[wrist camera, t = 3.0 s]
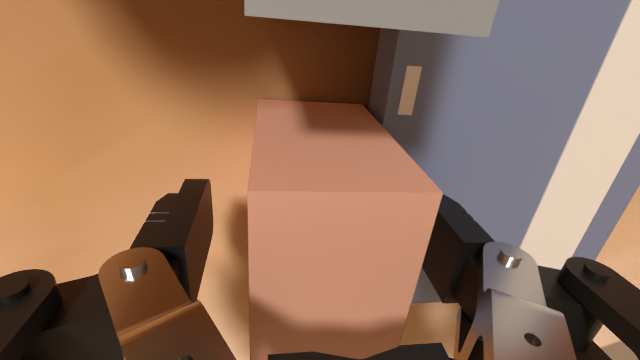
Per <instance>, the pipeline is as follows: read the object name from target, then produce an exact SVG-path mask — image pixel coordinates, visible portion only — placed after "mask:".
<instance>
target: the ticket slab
mask: <svg viewBox="0 0 640 360" xmlns="http://www.w3.org/2000/svg"><path fill="white" fill-rule="evenodd" d="M368 111H369V112H370V113H371V115H372V116H373V117H374V118H375V119H376V120H377V121H378V122H379V123H380V124H381V125H382V127H383V128H384V129H385V130H386V131H387V132H388V133H389V134H390V135H391V136H392V137H393V139H394V140H395V141H396V142H397V143H398V144H399V145H400V146H401V147H402V148H403V149H404V151H405V152H406V153H407V154H408V155H409V156H410V157H411V158H412V159H413V160H414V161H415V163H416V164H417V165H418V166H419V167H420V168H421V169H422V170H423V171H424V172H425V173H426V175H427V176H428V177H429V178H430V179H431V180H432V181H433V182H434V183H435V184H436V185H437V187H438V188H439V189H440V190H441V191H442V192H443V194H444V195H445V196H448V197H449V198H451V199H453V200H454V201H456V202H458V203H459V204H460V205H461V206H462V207H463V208H464V209H465V210H466V211H467V214H470V215H471V216H472V217H473V219H474V221H476V222H477V223H478V224H479V225H480V226H481V227H482V228H483V229H484V230H485V231H486V232H487V233H488V234H489V235H490V236H491V237H492V239H493V240H494V241H496V242H504V243H508V244H511V245H514V246H516V247H518V248H520V249H522V250H524V251H525V252H527V253H528V254H529V255H530V256H532V257H533V259H534V260H535V261H536V263H537V265H539V266H544V267H549V268H554V269H559V270H561V269H562V267H563V265H564V263H565V262H566V260H567V259H568V258H570V257H583V258H588V259H591V260H594V261H595V259H596V258H597V256H598V254H599V252H600V251H601V249H602V247H603V246H604V244H605V242H606V241H607V239H608V237H609V236H610V234H611V232H612V231H613V229H614V227H615V225H616V224H617V222H618V220H619V219H620V217H621V215H622V214H623V212H624V210H625V209H626V207H627V205H628V204H629V202H630V200H631V199H632V197H633V195H634V193H635V192H636V190H637V188H638V187H639V185H640V0H499V4H498V7H497V11H496V14H495V17H494V21H493V24H492V28H491V31H490V35H489V37H478V36H467V35H456V34H445V33H433V32H422V31H411V30H400V29H389V28H380V33H379V40H378V46H377V53H376V59H375V66H374V73H373V79H372V86H371V92H370V99H369V105H368ZM427 302H442V301H441V299H440V298H439V296H438V294H437V292H436V291H435V289H434V287H433V285H432V284H431V282H430V280H429V279H428V277H427V275H426V273H425V272H424V270H423V268H422V267H421V271H420V274H419V278H418V281H417V285H416V288H415V291H414V295H413V298H412V302H411V303H427Z"/></svg>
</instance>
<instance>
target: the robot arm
mask: <svg viewBox="0 0 640 360" xmlns="http://www.w3.org/2000/svg"><path fill="white" fill-rule="evenodd" d="M212 234H213V210H212V197H211V184H210V180H209V179H185V181H184V183H183V185H182V187H181V189H180V191H179V193H178V194H177V193H168V194H166V195H165V196H164V197H162V198H161V199H160V200H158V201H157V202H156V203H155V205H154V207H153V209H152V210H151V214H149V216H148V217H147V219H146V222H145V223H144V224H143V226H142V228H141V230H140V231H139V233H138V235H137V237H136V238H135V240H134V242H133V244H132V245H131V247H130V249H129V250H125V251H122V252H120V253H118V254H116V255H114V256H112V257H111V258H109V259H108V260H107V261H106V262H105V263H104V264H103V265H102V266H101V268H100V270H99V273H98V274H96V275H93V276H90V277H86V278H81V279H77V280H73V281H68V282H64V283H60V284H57V283H56V281H55V278H54V276H53V275H52V274H51V273H50V272H48V271H45V270H39V269H31V270H23V271H18V272H14V273H11V274H8V275H5V276H3V277H0V360H236V358H235V357H234V355H233V353H232V352H231V350H230V348H229V347H228V345H227V344H226V342H225V340H224V339H223V337H222V335H221V334H220V332H219V330H218V329H217V327H216V326H215V324H214V322H213V321H212V319H211V317H210V316H209V314H208V313H207V311H206V309H205V308H204V306H203V305H202V303H201V302H200V301H199V300H197V296H198V292H199V288H200V284H201V280H202V276H203V272H204V267H205V263H206V259H207V255H208V251H209V247H210V243H211V239H212ZM422 268H423V270H424V272H425V273H426V275H427V277H428V279H429V280H430V282H431V284H432V285H433V287H434V289H435V291H436V292H437V294H438V296H439V298H440V299H441V301H442V303H459V304H460V309H459V311H458V314H457V322H456V334H455V345H454V357H453V359H452V358H449V357H448V355H447V353H446V351H445V349H444V347H443V345H442V343H430V344H415V345H401V346H398V347H396V348H393V349H390V350H387V351H384V352H381V353H379V354H376V355H373V356H370V357H367V358H364V359H354V358H348V357H342V356H337V355H331V354H325V353H319V352H314V351H312V352H297V353H282V354H268V360H612V359H610V357H609V356H608V355H607V354H606V353H604V351H603V350H602V349H601V348H600V347H599V346H598V345H597V344H596V343H595V342H594V341H593V338H594V337H595V336H596V334H597V333H598V331H599V330H600V328H601V327H602V325H603V324H604V325H605V326H606V327H607V328H608V329H609V330H610V331H612V332H613V333H614V334H615V335H616V336H617V337H618V338H619V339H620V340H621V341H622V342H623V343H625V344H626V345H627V346H628V347H629V348H630V349H631V350H632V351H633V352H634V353H635V354H636V356H637V357H638V359H639V360H640V290H639V289H638V288H637V287H635V286H634V285H633V284H631V283H630V282H629V281H627V280H626V279H625V278H623V277H622V276H621V275H619V274H618V273H617V272H615V271H614V270H612V269H611V268H609V267H607V266H605V265H603V264H601V263H599V262H597V261H594V260H591V259H588V258H583V257H570V258H568V259H567V260H566V262H565V263H564V265H563V267H562V269H561V270H559V269H554V268H549V267H544V266H539V265H537V263H536V261H535V260H534V259H533V257H532V256H530V255H529V254H528V253H527V252H525V251H524V250H522V249H520V248H518V247H516V246H514V245H511V244H508V243H504V242H496V241H494V240H493V239H492V237H491V236H490V235H489V234H488V233H487V232H486V231H485V230H484V229H483V228H482V227H481V226H480V225H479V224H478V223H477V222H476V221H474V219H473V217H472V216H471V215H470V214H467V211H466V210H465V209H464V208H463V207H462V206H461V205H460V204H459V203H458V202H456V201H454V200H453V199H451V198H449V197H448V196H445V195H444V194H443V195H442V199H441V202H440V206H439V209H438V213H437V216H436V219H435V223H434V226H433V230H432V233H431V237H430V240H429V243H428V247H427V250H426V254H425V257H424V261H423V264H422Z"/></svg>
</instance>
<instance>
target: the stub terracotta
mask: <svg viewBox="0 0 640 360" xmlns="http://www.w3.org/2000/svg"><path fill="white" fill-rule="evenodd" d="M442 195H443V192H442V191H441V190H440V189H439V188H438V187H437V185H436V184H435V183H434V182H433V181H432V180H431V179H430V178H429V177H428V176H427V175H426V173H425V172H424V171H423V170H422V169H421V168H420V167H419V166H418V165H417V164H416V163H415V161H414V160H413V159H412V158H411V157H410V156H409V155H408V154H407V153H406V152H405V151H404V149H403V148H402V147H401V146H400V145H399V144H398V143H397V142H396V141H395V140H394V139H393V137H392V136H391V135H390V134H389V133H388V132H387V131H386V130H385V129H384V128H383V127H382V125H381V124H380V123H379V122H378V121H377V120H376V119H375V118H374V117H373V116H372V115H371V113H370V112H369V111H368V110H367V109H366V108H365V107H364V106H363V105H362V104H349V103H330V102H310V101H291V100H272V99H258V106H257V115H256V123H255V131H254V140H253V148H252V157H251V165H250V173H249V182H248V190H247V198H248V260H249V322H250V360H268V354H282V353H297V352H312V351H314V352H319V353H325V354H331V355H337V356H342V357H348V358H354V359H364V358H367V357H370V356H373V355H376V354H379V353H381V352H384V351H387V350H390V349H393V348H396V347H398V346H399V343H400V339H401V336H402V332H403V329H404V326H405V322H406V319H407V315H408V312H409V308H410V305H411V302H412V298H413V295H414V291H415V288H416V285H417V281H418V278H419V274H420V271H421V267H422V264H423V261H424V257H425V254H426V250H427V247H428V243H429V240H430V237H431V233H432V230H433V226H434V223H435V219H436V216H437V213H438V209H439V206H440V202H441V199H442Z"/></svg>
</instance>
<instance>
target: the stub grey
mask: <svg viewBox="0 0 640 360" xmlns="http://www.w3.org/2000/svg"><path fill="white" fill-rule="evenodd" d="M498 4H499V0H244V11H245V16H255V17H266V18H277V19H288V20H299V21H311V22H322V23H333V24H344V25H355V26H366V27H378V28H389V29H400V30H411V31H422V32H433V33H445V34H456V35H467V36H478V37H489V35H490V31H491V28H492V24H493V21H494V17H495V14H496V11H497V7H498Z"/></svg>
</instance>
